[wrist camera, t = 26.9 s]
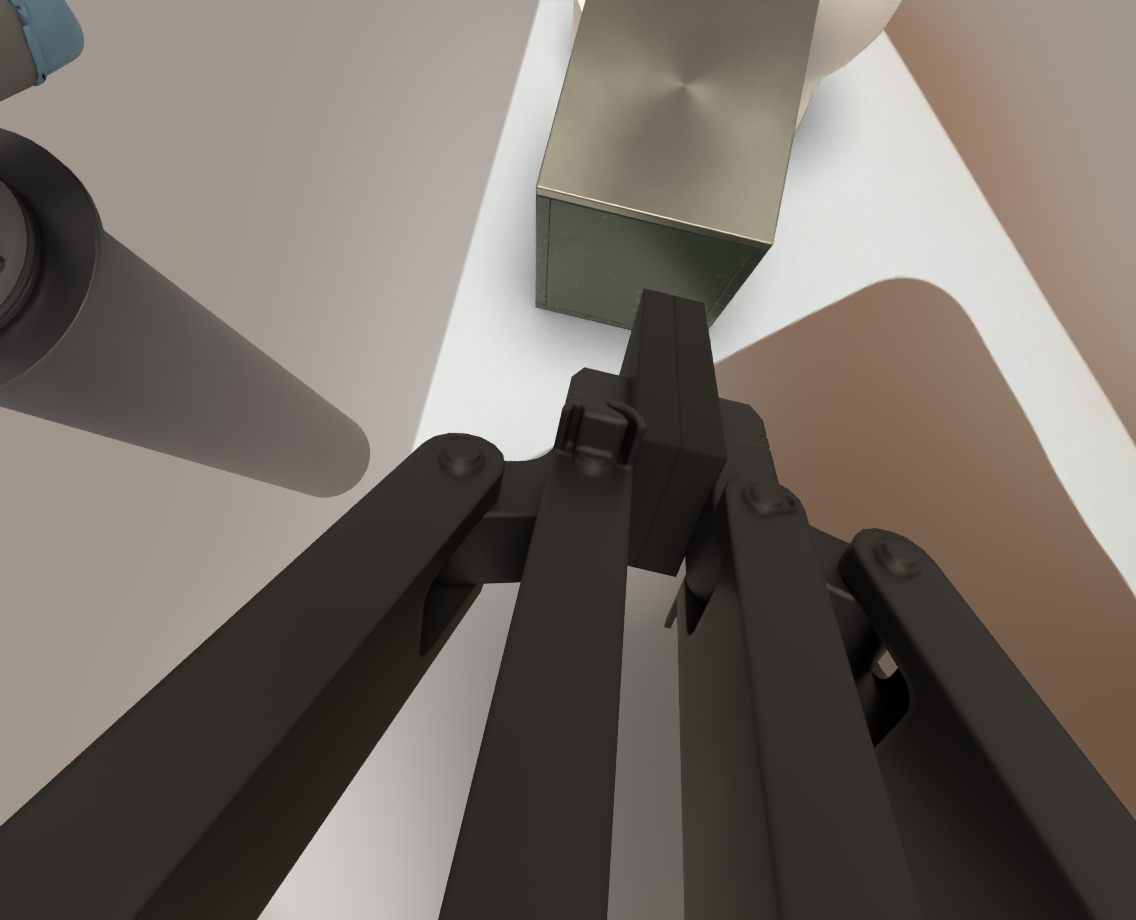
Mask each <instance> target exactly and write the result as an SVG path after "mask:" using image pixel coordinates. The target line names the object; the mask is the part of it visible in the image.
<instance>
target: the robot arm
mask: <svg viewBox="0 0 1136 920" xmlns="http://www.w3.org/2000/svg"><path fill="white" fill-rule="evenodd" d="M83 47H84V36H83V32H82V29H81V26H80V24H79V23H78V20H77V19H76V17H75V15H74V14H73V12H72V11H71V9H70V8H69V6H68V5H67V3H66V2H65V0H0V101H2V100H4V99H6V98H8V97H10V96H13V95H15V94H17V93H19V92H21V91H23V90H25V89H27V88H29V87H32V86H38V85H40V84H42V83H44V81H45V80H46V77H47V75H49V74H51V73H53V72H54V71H56V70H58V69H59V68H61V67H63V66H64V65H66V64H68V63H70V62H72V61H73V60H75V59H76V58H77V57H78V56H79V55H80V54H81V52H82V50H83ZM42 258H43V242H42V235H41V230H40V226H39V223H38V221H37V218H36V216H35V214H34V212H33V210H32V209H31V207H30V205H29V204H28V203H27V201H26V200H25V199H24V198H23V196H22V195H21V194H20V193H19V192H18V191H17V190H15V189H14V188H13V187H12V186H10V185H9V184H8V183H6V182H5V181H4V180H2V179H1V178H0V329H1V328H3V327H4V326H5V325H6V324H7V323H8V322H9V321H10V320H11V319H13V318H14V317H15V315H16V314H17V313H18V312H19V311H20V310H21V308H22V307H23V306H24V304H25V303H26V301H27V300H28V298H29V297H30V295H31V293H32V291H33V289H34V287H35V285H36V282H37V280H38V277H39V274H40V269H41V265H42ZM684 557H685V561H686V575H685V578H684V580H683V582H682V584H681V587H680V589H679V591H678V593H677V596H676V598H675V600H674V602H673V605H672V607H671V609H670V611H669V614H668V616H667V618H666V622H665V627H666V628H671V626H672V624H673V621H674V619H675V618H676V617H677V624H678V665H679V705H680V706H679V707H680V748H681V789H682V831H683V872H684V911H685V912H684V914H685V920H1136V820H1135V819H1134V818H1133V817H1132V815H1131V814H1130V813H1129V811H1128V810H1127V809H1126V808H1125V806H1124V805H1123V804H1122V802H1121V801H1120V800H1119V799H1118V798H1117V796H1116V795H1115V793H1114V792H1113V791H1112V789H1111V788H1110V787H1109V786H1108V784H1107V783H1106V782H1105V780H1104V779H1103V778H1102V777H1101V775H1100V774H1099V773H1098V771H1097V770H1096V769H1095V768H1094V766H1093V765H1092V764H1091V762H1090V761H1089V760H1088V759H1087V757H1086V756H1085V755H1084V753H1083V752H1082V751H1081V750H1080V748H1079V747H1078V746H1077V744H1076V743H1075V742H1074V741H1073V739H1072V738H1071V737H1070V735H1069V734H1068V733H1067V731H1066V730H1065V729H1064V728H1063V726H1062V725H1061V724H1060V722H1059V721H1058V720H1057V719H1056V717H1055V716H1054V715H1053V713H1052V712H1051V711H1050V710H1049V708H1048V707H1047V706H1046V704H1045V703H1044V702H1043V701H1042V699H1041V698H1040V697H1039V695H1038V694H1037V693H1036V692H1035V690H1034V689H1033V688H1032V686H1031V685H1030V684H1029V683H1028V681H1027V680H1026V679H1025V677H1024V676H1023V675H1022V673H1021V672H1020V671H1019V670H1018V668H1017V667H1016V666H1015V664H1014V663H1013V662H1012V661H1011V659H1010V658H1009V657H1008V655H1007V654H1006V653H1005V652H1004V650H1003V649H1002V648H1001V647H1000V645H999V644H998V643H997V641H996V640H995V639H994V638H993V636H992V635H991V634H990V632H989V631H988V630H987V628H986V627H985V626H984V625H983V623H982V622H981V621H980V620H979V618H978V617H977V616H976V614H975V613H974V612H973V610H972V609H971V608H970V607H969V605H968V604H967V603H966V601H965V600H964V599H963V597H962V596H961V595H960V594H959V592H958V591H957V590H956V588H955V587H954V586H953V585H952V583H951V582H950V581H949V579H948V578H947V577H946V576H945V574H944V573H943V572H942V570H941V569H940V568H939V567H938V565H937V564H936V563H935V561H934V560H933V559H932V558H931V557H930V556H929V555H928V554H927V553H926V552H925V551H924V550H923V549H922V548H920V547H919V546H917V545H916V544H914V543H913V542H911V541H910V540H909V539H908V538H906V537H904V536H902V535H901V536H900V535H899V534H897V533H893V532H891V531H886V530H882V529H877V528H872V529H863V530H861V531H860V532H859V533H857V534H856V535H855V536H854V538H853V540H852V541H851V543H850V544H849V543H847V542H845V541H842V540H840V539H838V538H836V537H833V536H831V535H829V534H827V533H825V532H822V531H820V530H819V529H816V528H815V527H813V526H811V525H809V523H808V519H807V516H806V512H805V509H804V508H803V506H802V504H801V502H800V500H799V499H798V498H797V497H796V496H795V495H794V494H793V493H792V492H791V491H790V490H788V489H787V488H785V487H784V486H782V485H780V484H779V483H778V479H777V475H776V471H775V467H774V463H773V459H772V456H771V451H770V450H769V443H768V439H767V438H766V431H765V428H764V423H763V420H762V419H761V418H760V416H759V415H758V414H757V413H756V412H755V411H754V409H753V408H752V407H751V406H750V405H748V404H744V403H739V402H735V401H731V400H727V399H723V398H719V397H718V390H717V384H716V377H715V370H714V364H713V357H712V351H711V344H710V338H709V331H708V325H707V318H706V312H705V305H704V303H703V302H699V301H695V300H691V299H687V298H683V297H678V296H674V295H670V294H666V293H662V292H658V291H653V290H649V289H645V288H644V289H643V292H642V296H641V299H640V303H639V307H638V310H637V314H636V317H635V321H634V324H633V328H632V331H631V335H630V339H629V342H628V346H627V349H626V353H625V356H624V360H623V363H622V367H621V371H620V374H619V376H618V375H614V374H610V373H606V372H602V371H597V370H593V369H589V368H585V367H584V368H583V369H582V370H580V371H579V372H578V373H576V374H575V375H574V376H572V378H571V382H570V386H569V390H568V394H567V398H566V403H565V405H564V407H563V409H562V413H561V418H560V422H559V426H558V431H557V435H556V440H555V444H554V447H553V449H552V450H550V452H548V453H547V454H546V455H544V456H542V457H539V458H537V459H532V460H528V461H504V457H503V454H502V453H501V452H500V450H499V449H498V448H497V447H496V446H495V445H494V444H492V443H490V442H489V441H487V440H485V439H483V438H481V437H477V436H473V435H470V434H464V433H448V434H443V435H438V436H434V437H433V438H431V439H429V440H427V441H426V442H424V443H423V444H422V445H420V446H419V447H418V448H417V449H416V450H415V451H414V452H413V453H412V454H411V455H409V456H408V457H407V458H406V459H405V460H404V461H403V462H402V463H401V464H400V465H398V466H397V467H396V468H395V469H394V470H393V471H392V472H391V473H390V474H388V476H386V477H385V478H384V479H383V480H382V481H381V482H380V483H379V484H378V485H376V486H375V487H374V488H373V489H372V490H371V491H370V492H369V493H368V494H366V496H364V497H363V498H362V499H361V500H360V501H359V502H358V503H357V504H355V505H354V506H353V507H352V508H351V509H350V510H349V511H348V512H347V513H346V514H344V515H343V516H342V517H341V518H340V519H339V520H338V521H337V522H336V523H334V524H333V525H332V526H331V527H330V528H329V529H328V530H327V531H326V532H325V533H323V535H321V536H320V537H319V538H318V539H317V540H316V541H315V542H314V543H312V544H311V545H310V546H309V547H308V548H307V549H306V550H305V551H304V552H302V553H301V554H300V555H299V556H298V557H297V558H296V559H295V560H294V561H293V562H292V563H290V564H289V565H288V566H287V567H286V568H285V569H284V570H283V571H282V572H280V573H279V574H278V575H277V576H276V577H275V578H274V579H273V580H272V581H270V582H269V583H268V584H267V585H266V586H265V587H264V588H263V589H262V590H261V591H259V592H258V593H257V594H256V595H255V596H254V597H253V598H252V599H251V600H250V601H249V602H247V603H246V604H245V605H244V606H243V607H242V608H241V609H240V610H238V611H237V612H236V613H235V614H234V615H233V616H232V617H231V618H230V619H229V620H227V621H226V622H225V623H224V624H223V625H222V626H221V627H220V628H219V629H218V630H216V631H215V632H214V633H213V634H212V635H211V636H210V637H209V638H208V639H207V640H205V641H204V642H203V643H202V644H201V645H200V646H199V647H198V648H197V649H196V650H194V651H193V652H192V653H191V654H190V655H189V656H188V657H187V658H186V659H184V660H183V661H182V662H181V663H180V664H179V665H178V666H177V667H176V668H175V669H173V670H172V671H171V672H170V673H169V674H168V675H167V676H166V677H165V678H164V679H162V680H161V681H160V682H159V683H158V684H157V685H156V686H155V687H154V688H153V689H151V690H150V691H149V692H148V693H147V694H146V695H145V696H144V697H143V698H141V700H139V701H138V702H137V703H136V704H135V705H134V706H133V707H132V708H131V709H129V710H128V711H127V712H126V713H125V714H124V715H123V716H122V717H121V718H119V719H118V720H117V721H116V722H115V723H114V724H113V725H112V726H111V727H109V728H108V729H107V730H106V731H105V732H104V733H103V734H102V735H101V736H100V737H98V738H97V739H96V740H95V741H94V742H93V743H92V744H91V745H90V746H89V747H87V748H86V749H85V750H84V751H83V752H82V753H81V754H80V755H79V756H77V757H76V758H75V759H74V760H73V761H72V762H71V763H70V764H69V765H68V766H66V767H65V768H64V769H63V770H62V771H61V772H60V773H59V774H58V775H57V776H55V777H54V778H53V779H52V780H51V781H50V782H49V783H48V784H47V785H46V786H44V787H43V788H42V789H41V790H40V791H39V792H38V793H37V794H36V795H35V796H33V797H32V798H31V799H30V800H29V801H28V802H27V803H26V804H25V805H23V807H21V808H20V809H19V810H18V811H17V812H16V813H15V814H14V815H13V816H12V817H10V818H9V819H8V820H7V821H6V822H5V823H4V824H3V825H1V826H0V920H257V919H258V917H259V916H260V914H261V913H262V911H263V910H264V908H265V907H266V905H267V904H268V902H269V901H270V900H271V898H272V896H273V895H274V894H275V892H276V891H277V889H278V888H279V886H280V885H281V884H282V882H283V881H284V879H285V878H286V876H287V875H288V873H289V872H290V870H291V869H292V867H293V866H294V864H295V863H296V862H297V860H298V859H299V857H300V856H301V854H302V853H303V851H304V850H305V848H306V847H307V845H308V844H309V842H310V841H311V840H312V838H313V837H314V835H315V834H316V832H317V831H318V829H319V828H320V826H321V825H322V823H323V822H324V821H325V819H326V818H327V816H328V815H329V813H330V812H331V810H332V809H333V807H334V806H335V804H336V803H337V802H338V800H339V799H340V797H341V796H342V794H343V793H344V791H345V790H346V788H347V787H348V785H349V784H350V782H351V781H352V780H353V778H354V777H355V775H356V774H357V772H358V771H359V769H360V768H361V766H362V765H363V763H364V762H365V761H366V759H367V758H368V756H369V755H370V753H371V752H372V750H373V749H374V747H375V746H376V744H377V743H378V741H379V740H380V739H381V737H382V736H383V734H384V733H385V731H386V730H387V728H388V727H389V725H390V724H391V722H392V721H393V720H394V718H395V716H396V715H397V714H398V712H399V711H400V709H401V708H402V706H403V705H404V703H405V702H406V700H407V699H408V698H409V696H410V695H411V693H412V692H413V690H414V689H415V687H416V686H417V684H418V683H419V681H420V680H421V679H422V677H423V675H424V674H425V673H426V671H427V670H428V668H429V667H430V665H431V664H432V662H433V661H434V659H435V658H436V657H437V655H438V654H439V652H440V651H441V649H442V648H443V646H444V645H445V643H446V642H447V640H448V639H449V638H450V636H451V635H452V633H453V632H454V630H455V628H456V627H457V626H458V624H459V623H460V621H461V620H462V618H463V617H464V616H465V614H466V613H467V611H468V610H469V608H470V607H471V605H472V604H473V602H474V601H475V599H476V598H477V596H478V595H479V594H480V592H481V590H482V587H483V584H486V583H487V584H488V583H514V582H521V583H520V588H519V591H518V596H517V600H516V604H515V608H514V612H513V616H512V620H511V624H510V628H509V633H508V636H507V640H506V645H505V649H504V653H503V657H502V661H501V665H500V669H499V673H498V677H497V681H496V686H495V690H494V694H493V698H492V702H491V706H490V710H489V714H488V718H487V722H486V726H485V731H484V734H483V739H482V743H481V747H480V751H479V755H478V759H477V764H476V767H475V771H474V775H473V779H472V783H471V788H470V792H469V796H468V800H467V804H466V808H465V812H464V816H463V820H462V824H461V828H460V833H459V837H458V841H457V845H456V849H455V853H454V857H453V861H452V865H451V869H450V873H449V877H448V881H447V886H446V890H445V894H444V898H443V902H442V906H441V910H440V914H439V918H438V920H607V911H608V910H607V909H608V893H609V876H610V875H609V874H610V858H611V841H612V824H613V806H614V789H615V788H614V787H615V771H616V754H617V753H616V752H617V736H618V719H619V701H620V684H621V683H620V682H621V667H622V649H623V632H624V614H625V596H626V580H627V566H631V567H635V568H640V569H644V570H648V571H652V572H657V573H661V574H665V575H670V576H674V577H676V575H677V573H678V571H679V569H680V566H681V564H682V562H683V559H684ZM887 650H888V652H889V653H890V655H891V657H892V658H893V660H894V661H895V663H896V665H897V666H898V669H897V670H896V671H895V672H894V673H893V674H892V675H891V676H890V677H888V676H886V674H885V673H884V672H883V671H882V669H881V668H880V666H879V664H878V661H879V660H880V658H881V657H882V656H883V655H884V653H885V652H886V651H887Z"/></svg>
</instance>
